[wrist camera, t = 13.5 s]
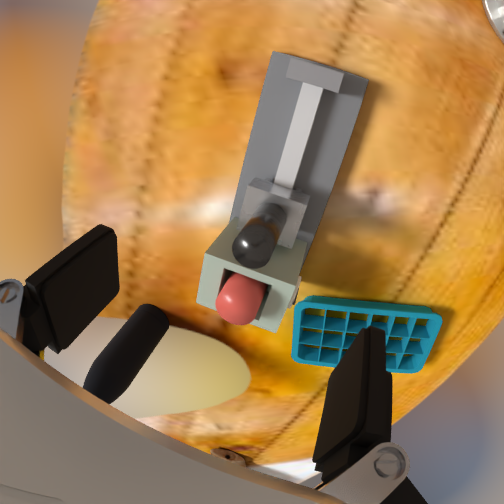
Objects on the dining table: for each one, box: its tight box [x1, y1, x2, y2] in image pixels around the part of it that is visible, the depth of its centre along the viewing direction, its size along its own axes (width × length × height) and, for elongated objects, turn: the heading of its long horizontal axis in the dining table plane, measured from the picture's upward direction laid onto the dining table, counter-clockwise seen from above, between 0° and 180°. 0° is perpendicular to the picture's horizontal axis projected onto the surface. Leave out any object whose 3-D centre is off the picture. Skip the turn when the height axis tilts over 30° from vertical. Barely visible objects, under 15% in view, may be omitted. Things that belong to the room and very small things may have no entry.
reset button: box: [215, 271, 269, 325], centre depth 32 cm, size 4×4×6 cm
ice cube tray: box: [291, 295, 443, 373], centre depth 41 cm, size 12×20×3 cm, turn 92°
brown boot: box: [211, 449, 246, 467], centre depth 69 cm, size 15×12×15 cm
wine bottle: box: [83, 304, 169, 404], centre depth 40 cm, size 6×6×30 cm
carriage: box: [232, 177, 310, 269], centre depth 30 cm, size 6×5×11 cm
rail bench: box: [196, 51, 369, 333], centre depth 30 cm, size 10×26×10 cm, turn 166°
